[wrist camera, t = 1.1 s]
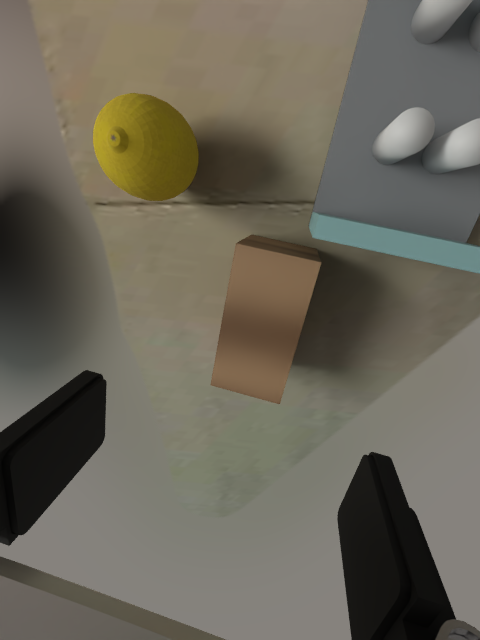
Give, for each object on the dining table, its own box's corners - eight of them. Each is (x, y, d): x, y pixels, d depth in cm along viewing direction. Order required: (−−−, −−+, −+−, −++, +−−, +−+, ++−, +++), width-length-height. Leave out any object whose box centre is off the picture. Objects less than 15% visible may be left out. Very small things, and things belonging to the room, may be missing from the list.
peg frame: (399, -117, 15) (514, -501, 7) (615, -100, 14) (1055, -528, 6) (308, 225, 22) (312, 237, 13) (451, 255, 21) (551, 288, 12)
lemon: (228, 162, 21) (189, 139, 14) (177, 217, 23) (120, 222, 16) (174, 96, 20) (103, 35, 13) (126, 159, 23) (42, 136, 15)
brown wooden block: (251, 234, 23) (236, 243, 17) (316, 248, 22) (321, 262, 17) (229, 348, 27) (210, 385, 21) (284, 362, 26) (279, 404, 21)
